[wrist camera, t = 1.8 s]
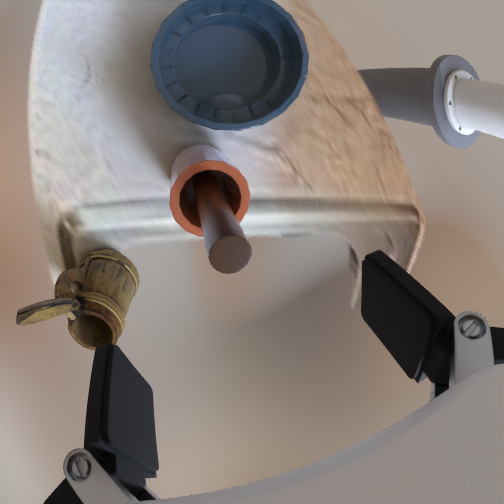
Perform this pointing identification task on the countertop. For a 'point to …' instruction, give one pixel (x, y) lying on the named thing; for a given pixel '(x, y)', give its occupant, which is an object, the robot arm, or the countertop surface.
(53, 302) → the wooden mug
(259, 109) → the bowl
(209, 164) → the holder
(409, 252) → the countertop surface
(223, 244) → the stick
